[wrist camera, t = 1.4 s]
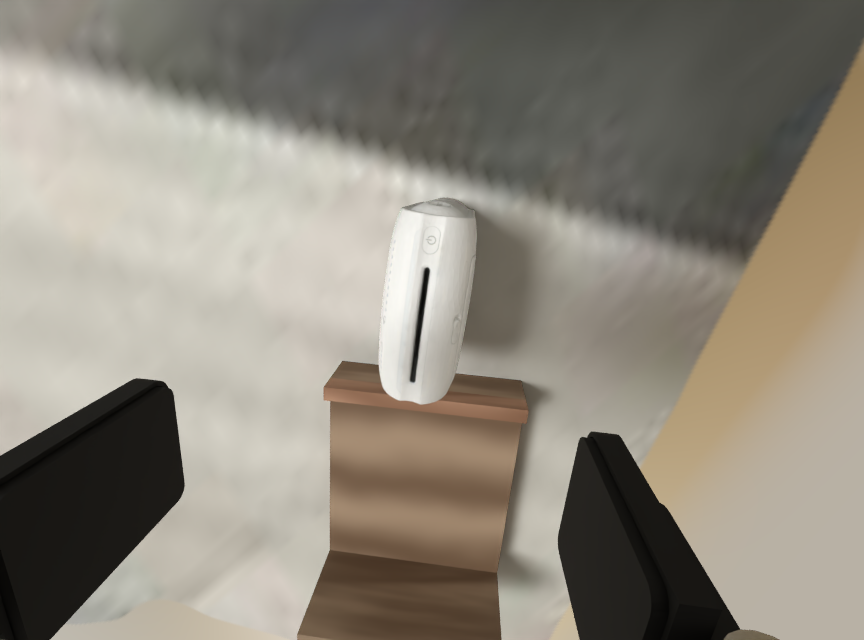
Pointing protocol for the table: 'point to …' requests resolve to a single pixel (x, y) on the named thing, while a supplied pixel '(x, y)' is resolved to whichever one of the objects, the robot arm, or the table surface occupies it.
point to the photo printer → (426, 299)
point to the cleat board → (415, 509)
